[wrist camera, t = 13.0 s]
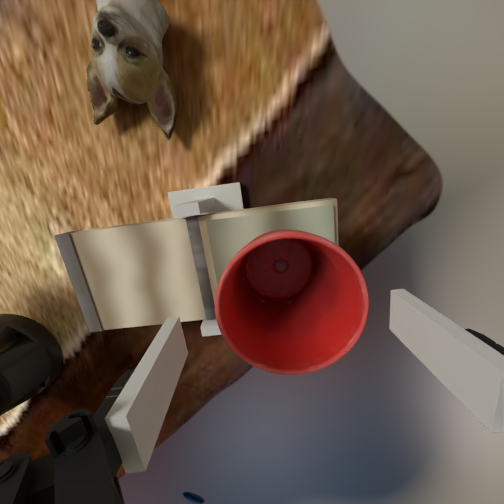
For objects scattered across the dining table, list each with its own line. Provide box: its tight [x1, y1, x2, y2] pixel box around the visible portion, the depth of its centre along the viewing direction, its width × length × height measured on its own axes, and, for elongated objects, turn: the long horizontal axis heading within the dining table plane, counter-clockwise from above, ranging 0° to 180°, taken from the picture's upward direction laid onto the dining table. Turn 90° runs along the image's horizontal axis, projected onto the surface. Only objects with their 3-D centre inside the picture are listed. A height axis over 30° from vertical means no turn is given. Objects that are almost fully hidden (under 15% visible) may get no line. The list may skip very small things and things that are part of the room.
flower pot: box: [215, 229, 369, 375], centre depth 21 cm, size 11×11×10 cm
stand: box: [168, 182, 243, 337], centre depth 30 cm, size 20×18×11 cm
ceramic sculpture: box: [87, 0, 177, 140], centre depth 26 cm, size 11×9×15 cm
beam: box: [55, 198, 339, 332], centre depth 27 cm, size 30×12×3 cm, turn 97°
